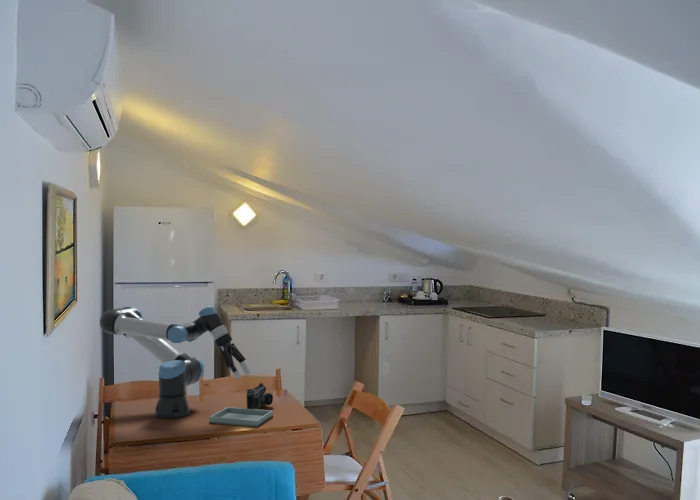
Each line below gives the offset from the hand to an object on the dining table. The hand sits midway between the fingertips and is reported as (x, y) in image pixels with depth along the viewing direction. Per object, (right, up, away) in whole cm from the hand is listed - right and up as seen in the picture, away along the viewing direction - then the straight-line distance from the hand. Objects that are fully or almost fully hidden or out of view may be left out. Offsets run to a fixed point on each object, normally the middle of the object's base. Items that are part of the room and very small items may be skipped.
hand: (244, 376), depth 273 cm
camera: (+7, -17, +6) cm, 19 cm away
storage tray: (+1, -16, -14) cm, 21 cm away
